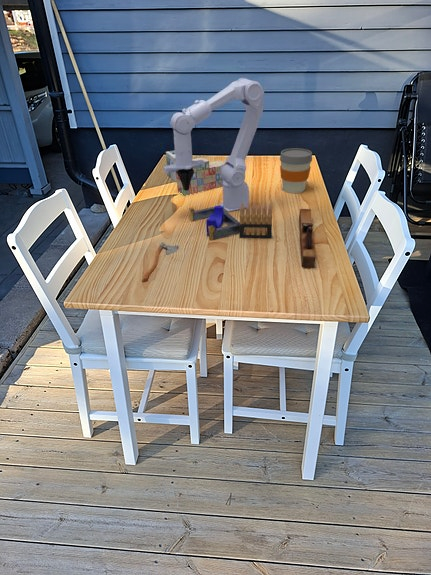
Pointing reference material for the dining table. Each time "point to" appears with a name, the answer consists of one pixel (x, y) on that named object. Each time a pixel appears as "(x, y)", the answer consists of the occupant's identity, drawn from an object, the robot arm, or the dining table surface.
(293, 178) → the reusable coffee cup
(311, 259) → the hand plane
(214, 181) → the stack of blocks
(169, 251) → the axe
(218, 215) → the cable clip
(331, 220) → the dining table surface
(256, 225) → the ammunition clip
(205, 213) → the keeper cradle
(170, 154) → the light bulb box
